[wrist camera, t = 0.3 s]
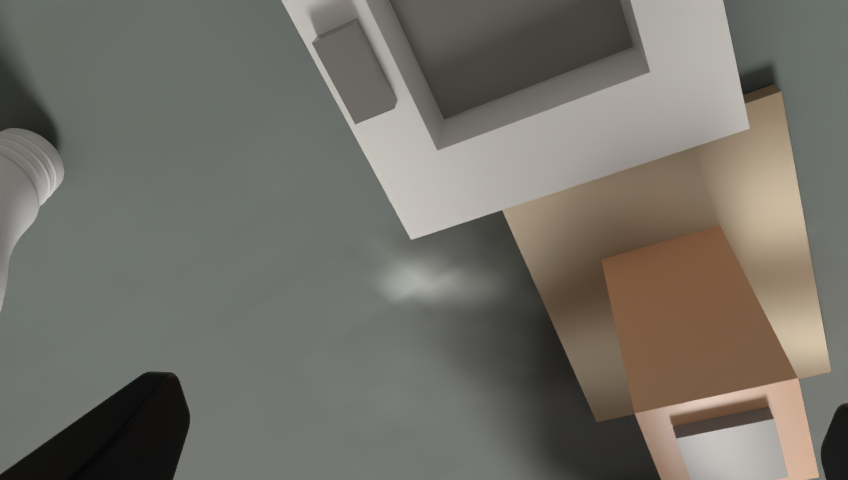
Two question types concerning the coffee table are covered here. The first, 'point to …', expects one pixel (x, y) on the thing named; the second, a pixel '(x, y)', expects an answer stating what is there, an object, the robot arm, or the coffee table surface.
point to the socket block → (519, 93)
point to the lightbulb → (23, 187)
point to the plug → (706, 365)
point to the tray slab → (667, 219)
